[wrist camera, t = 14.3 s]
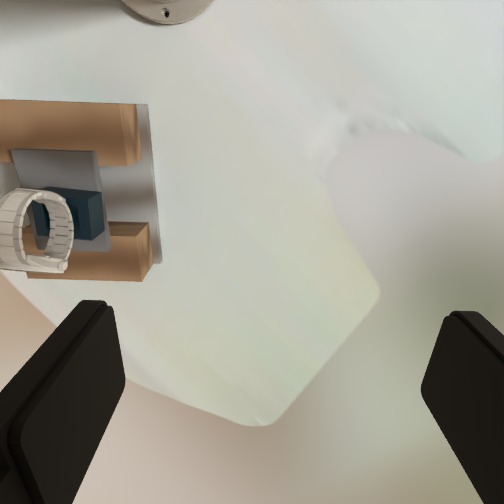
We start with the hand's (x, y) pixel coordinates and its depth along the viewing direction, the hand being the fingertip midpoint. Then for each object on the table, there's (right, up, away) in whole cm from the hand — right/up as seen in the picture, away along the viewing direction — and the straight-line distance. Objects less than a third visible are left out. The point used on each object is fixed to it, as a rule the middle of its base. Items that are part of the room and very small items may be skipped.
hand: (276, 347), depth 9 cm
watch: (-20, +7, +26) cm, 33 cm away
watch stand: (-21, +11, +32) cm, 40 cm away
